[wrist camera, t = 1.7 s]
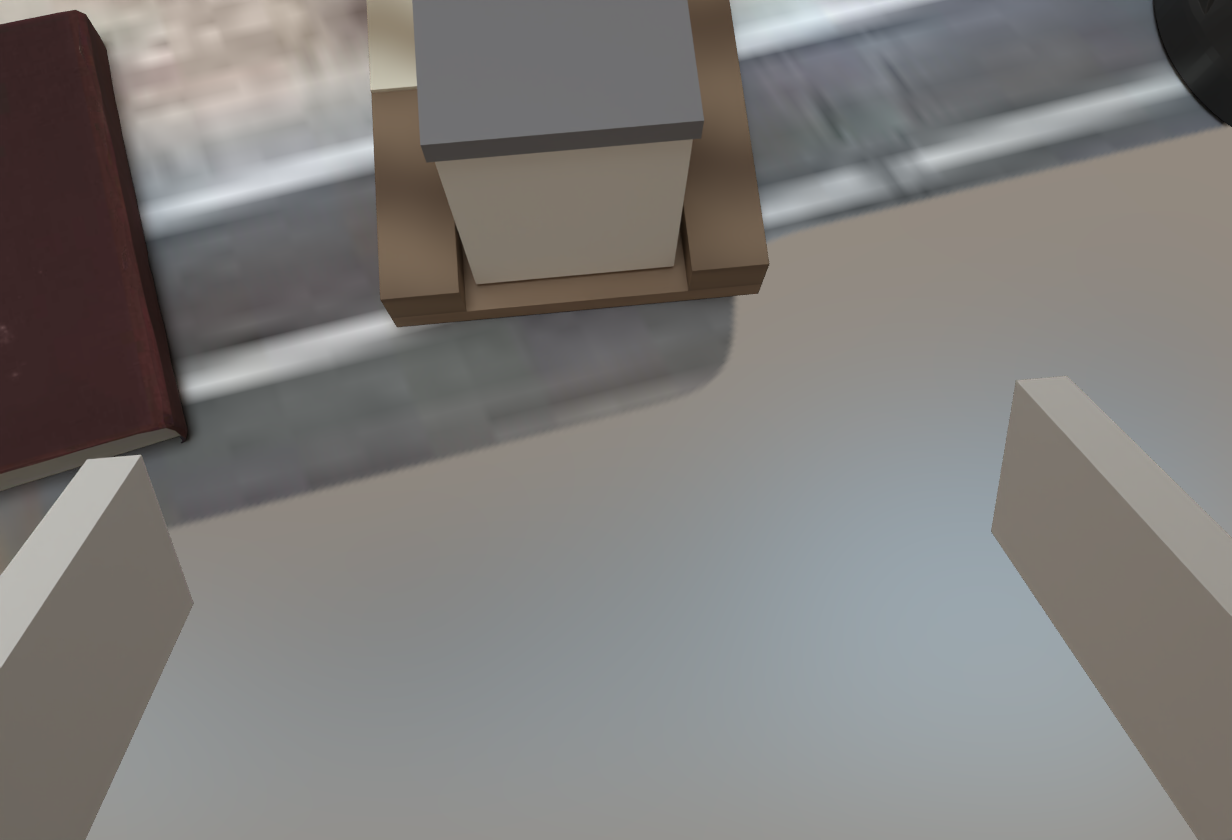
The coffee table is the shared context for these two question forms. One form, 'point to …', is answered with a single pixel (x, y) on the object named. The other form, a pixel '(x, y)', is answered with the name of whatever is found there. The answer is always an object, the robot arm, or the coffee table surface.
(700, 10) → the dark open tray
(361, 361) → the coffee table surface
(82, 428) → the book
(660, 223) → the beige upright block
